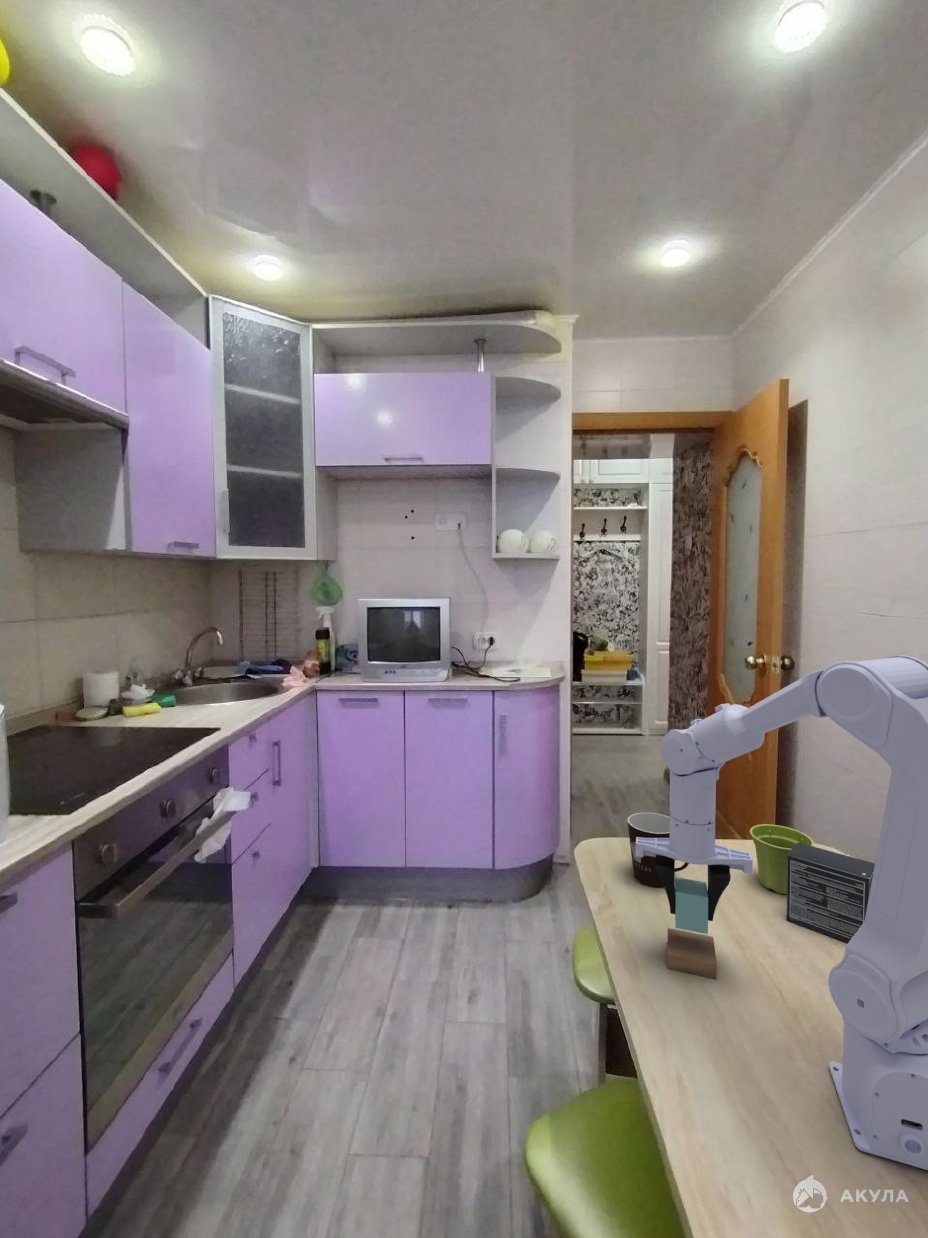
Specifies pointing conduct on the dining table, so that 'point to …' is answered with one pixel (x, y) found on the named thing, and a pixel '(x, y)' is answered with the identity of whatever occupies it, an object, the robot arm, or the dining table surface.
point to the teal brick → (691, 905)
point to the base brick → (692, 953)
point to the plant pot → (775, 853)
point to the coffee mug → (648, 828)
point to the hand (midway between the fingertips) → (691, 913)
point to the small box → (827, 891)
